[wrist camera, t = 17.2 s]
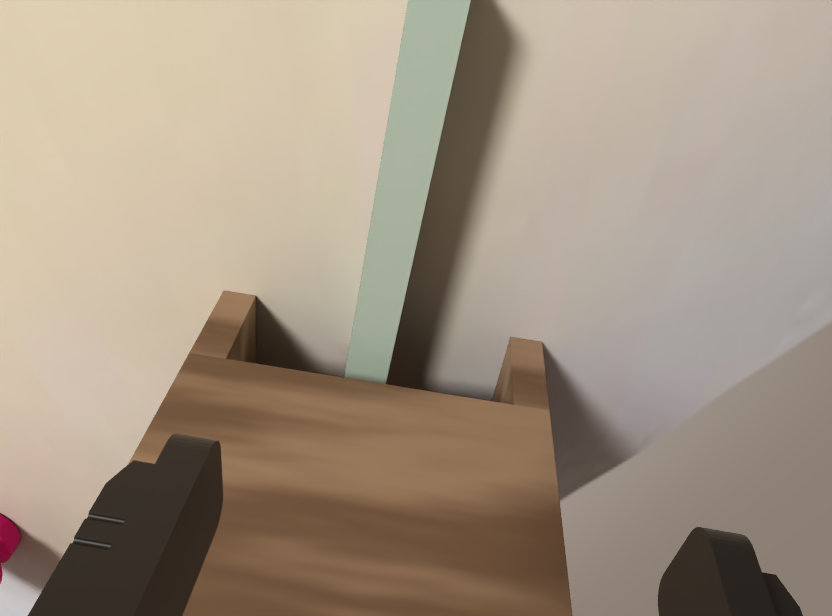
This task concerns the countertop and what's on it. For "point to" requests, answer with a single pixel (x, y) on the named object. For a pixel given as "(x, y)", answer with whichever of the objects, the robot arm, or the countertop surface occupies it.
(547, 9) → the countertop surface
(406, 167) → the sage stick
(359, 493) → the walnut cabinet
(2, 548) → the pepper mill
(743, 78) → the countertop surface
